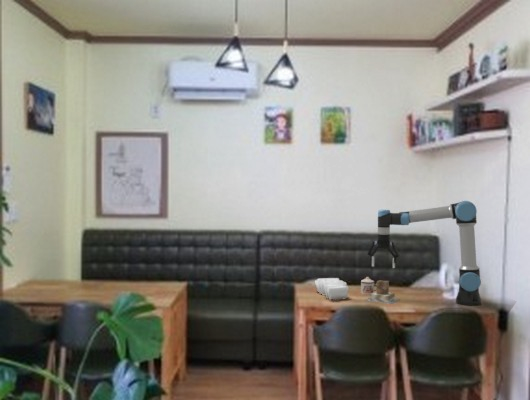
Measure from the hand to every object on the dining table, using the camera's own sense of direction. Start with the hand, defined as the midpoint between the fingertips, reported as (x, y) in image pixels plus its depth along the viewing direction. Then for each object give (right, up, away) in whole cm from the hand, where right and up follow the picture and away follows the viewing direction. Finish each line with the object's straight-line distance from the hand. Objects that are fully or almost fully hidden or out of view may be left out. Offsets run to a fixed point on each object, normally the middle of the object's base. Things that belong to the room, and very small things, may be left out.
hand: (383, 267), depth 350 cm
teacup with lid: (-5, -21, +21) cm, 30 cm away
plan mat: (0, -21, +1) cm, 21 cm away
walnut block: (0, -17, +1) cm, 17 cm away
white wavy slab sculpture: (-32, -21, +13) cm, 40 cm away
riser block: (0, -21, +1) cm, 21 cm away
